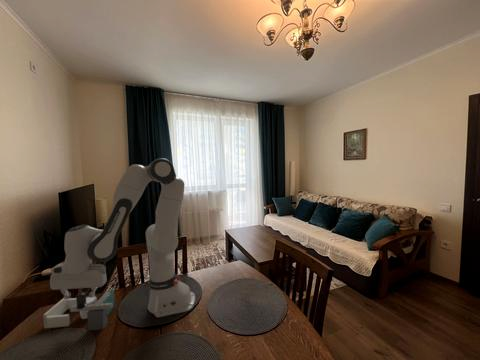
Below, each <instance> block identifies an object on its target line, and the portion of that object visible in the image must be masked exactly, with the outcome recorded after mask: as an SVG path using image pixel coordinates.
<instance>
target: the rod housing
mask: <svg viewBox="0 0 480 360" xmlns="http://www.w3.org/2000/svg"><path fill="white" fill-rule="evenodd" d="M87 317H88V318H87V329H88V331H89V332H90V331H98V330H104V329H105V328H106V326H107V325H108V323H109V321H108V316H107V309H100V310H89V311H88V312H87Z"/></svg>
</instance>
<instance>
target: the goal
mask: <svg viewBox="0 0 480 360" xmlns="http://www.w3.org/2000/svg"><path fill="white" fill-rule="evenodd" d="M76 305H77V301H76V297H74V298H73V297H70V298H69V299H64V297H63V298H62V299H60V300H59V301H58V302H57V303H55V304H54V305H53V306H52V307H51V308H49V310H47V311H46V312H45V313H44V314H43V328H44V329H51V328H52V329H53V328H61V327H69V325H70V323H71V320H70V314H68V313H67V314H64V313H65V312H66V311H67V310H70V308H71V307H72V306H76Z"/></svg>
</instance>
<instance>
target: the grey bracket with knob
mask: <svg viewBox="0 0 480 360" xmlns="http://www.w3.org/2000/svg"><path fill="white" fill-rule="evenodd" d="M86 297H87V292H86V291H81V292H78V293H77V294H76V296H75V298H76V301H77V305H76V306H72V307H71V308H70V309H69V311H70V313H75V312H80V311H88V310H100V309H107V317H108V316H109V314H110V313H111V311H113V309H114V308H115V305H116V303H115V301H116V300H115V289H111V290H109V291H108V290H107V291H105V292H104V293H103V295H102V296H101V297H100V298H99V299H97V300H96V303H95V304H88V305H86Z"/></svg>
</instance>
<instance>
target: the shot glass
mask: <svg viewBox="0 0 480 360" xmlns="http://www.w3.org/2000/svg"><path fill="white" fill-rule="evenodd" d="M97 301H98V299H97V296H96V295H95V296H94V297H89V296H86V305H88V304H95V303H96V302H97ZM88 311H89V310H88ZM88 311H79V314H80V318H81V319H82V320H86V319H87V320H88V317H87V312H88Z"/></svg>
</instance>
